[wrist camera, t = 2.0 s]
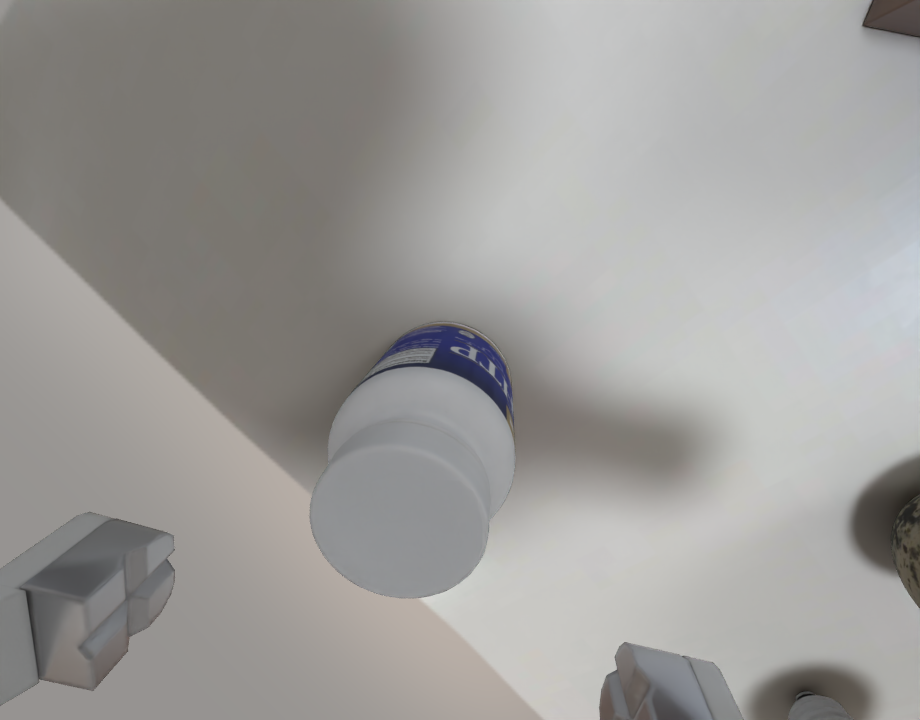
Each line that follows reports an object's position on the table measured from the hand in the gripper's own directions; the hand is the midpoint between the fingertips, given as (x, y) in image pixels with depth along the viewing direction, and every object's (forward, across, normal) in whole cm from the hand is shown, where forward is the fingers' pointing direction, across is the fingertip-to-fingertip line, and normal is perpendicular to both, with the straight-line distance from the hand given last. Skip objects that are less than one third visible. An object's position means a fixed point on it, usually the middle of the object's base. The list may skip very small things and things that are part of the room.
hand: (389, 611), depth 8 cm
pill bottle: (+11, 0, 0) cm, 11 cm away
